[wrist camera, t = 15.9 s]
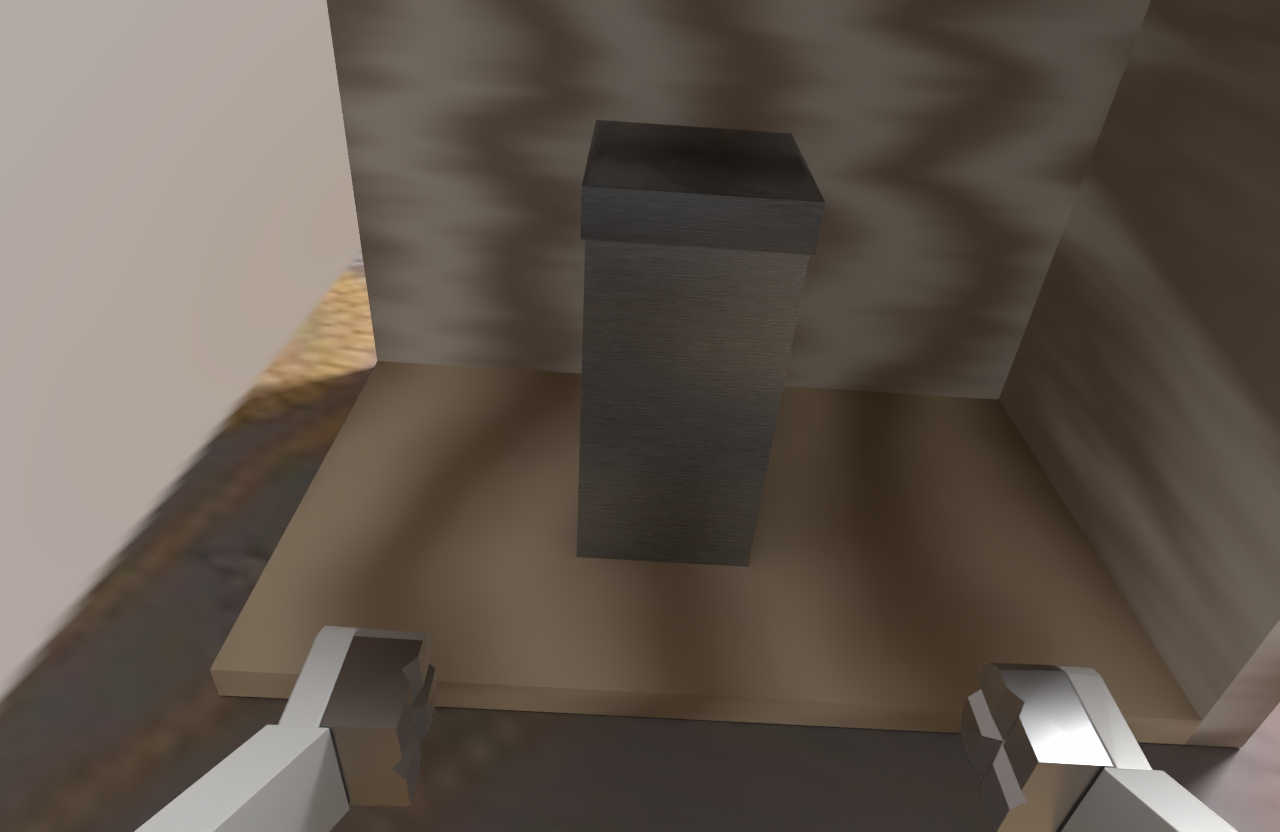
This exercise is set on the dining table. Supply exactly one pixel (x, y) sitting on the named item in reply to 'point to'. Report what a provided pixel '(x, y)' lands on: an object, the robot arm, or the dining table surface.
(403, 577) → the wooden cubby shelf
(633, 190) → the tea tin
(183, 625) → the dining table surface
